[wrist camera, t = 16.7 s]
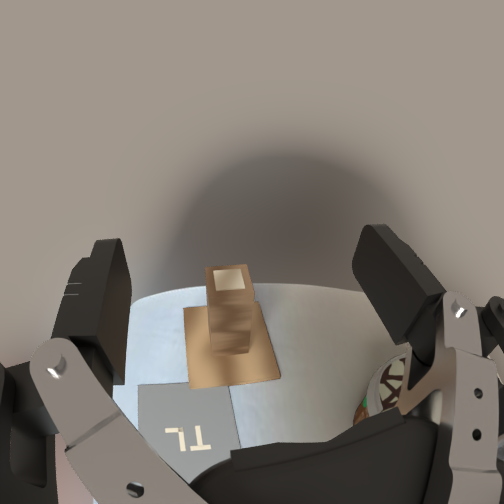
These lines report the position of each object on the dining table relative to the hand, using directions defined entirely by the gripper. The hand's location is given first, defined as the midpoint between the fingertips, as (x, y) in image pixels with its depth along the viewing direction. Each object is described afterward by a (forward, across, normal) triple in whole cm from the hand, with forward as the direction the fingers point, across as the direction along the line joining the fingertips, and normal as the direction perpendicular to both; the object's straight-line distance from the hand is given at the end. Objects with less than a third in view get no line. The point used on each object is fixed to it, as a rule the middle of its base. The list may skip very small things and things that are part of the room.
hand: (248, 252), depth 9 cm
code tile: (+3, +5, +30) cm, 31 cm away
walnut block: (+17, -2, +29) cm, 34 cm away
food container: (+2, -20, +30) cm, 36 cm away
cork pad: (+17, -2, +30) cm, 35 cm away
